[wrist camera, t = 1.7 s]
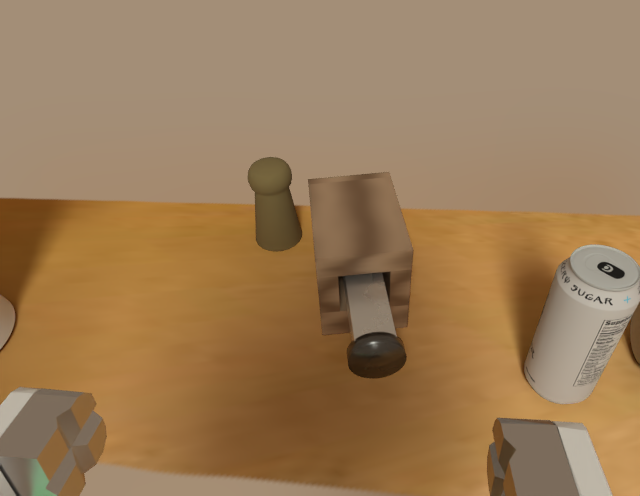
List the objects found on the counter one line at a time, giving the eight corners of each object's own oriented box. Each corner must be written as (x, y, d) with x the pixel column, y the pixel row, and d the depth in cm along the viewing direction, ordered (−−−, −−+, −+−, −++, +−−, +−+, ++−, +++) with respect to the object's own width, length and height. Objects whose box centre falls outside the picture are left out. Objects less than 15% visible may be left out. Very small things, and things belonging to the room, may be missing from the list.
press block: (322, 335, 53) (315, 259, 46) (315, 252, 63) (308, 179, 56) (407, 326, 54) (413, 249, 46) (386, 246, 63) (389, 171, 56)
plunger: (348, 380, 45) (347, 346, 42) (336, 279, 55) (333, 245, 51) (404, 375, 45) (407, 340, 42) (382, 275, 55) (383, 240, 51)
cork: (289, 215, 69) (280, 145, 62) (310, 240, 65) (302, 167, 58) (248, 231, 67) (234, 160, 60) (267, 257, 63) (254, 184, 56)
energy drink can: (546, 344, 51) (590, 229, 41) (603, 384, 47) (666, 268, 37) (508, 377, 48) (544, 263, 38) (566, 422, 45) (622, 308, 35)
